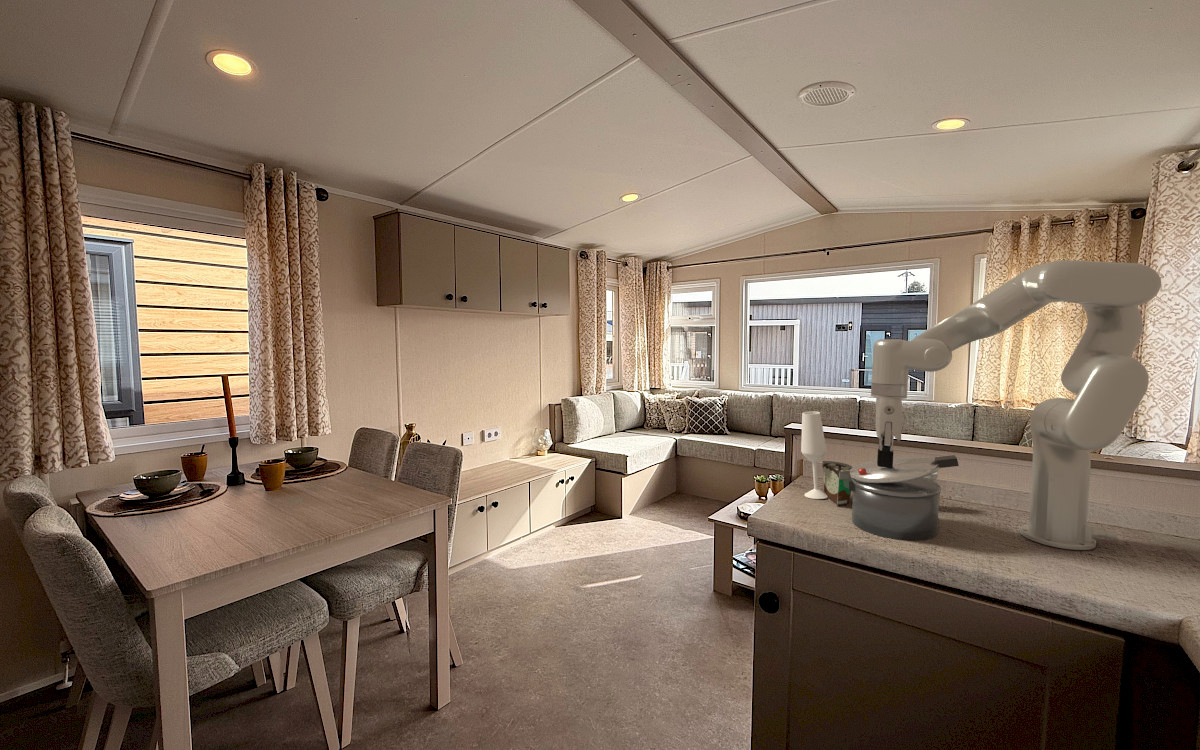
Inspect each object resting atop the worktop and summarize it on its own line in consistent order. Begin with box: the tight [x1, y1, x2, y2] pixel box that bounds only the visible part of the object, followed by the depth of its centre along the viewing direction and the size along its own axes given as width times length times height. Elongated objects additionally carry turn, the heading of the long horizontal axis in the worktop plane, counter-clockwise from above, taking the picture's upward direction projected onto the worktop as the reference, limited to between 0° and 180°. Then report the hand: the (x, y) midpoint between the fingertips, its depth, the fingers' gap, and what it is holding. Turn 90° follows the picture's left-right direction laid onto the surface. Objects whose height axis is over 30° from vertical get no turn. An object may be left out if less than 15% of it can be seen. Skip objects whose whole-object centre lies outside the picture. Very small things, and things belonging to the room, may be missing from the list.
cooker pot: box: [849, 477, 942, 542], centre depth 123 cm, size 19×19×11 cm
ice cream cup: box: [821, 460, 854, 508], centre depth 141 cm, size 12×6×10 cm, turn 178°
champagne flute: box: [800, 410, 828, 500], centre depth 145 cm, size 7×7×24 cm
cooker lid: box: [850, 454, 959, 483], centre depth 122 cm, size 22×19×2 cm
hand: (884, 466), depth 123 cm, fingers closed
